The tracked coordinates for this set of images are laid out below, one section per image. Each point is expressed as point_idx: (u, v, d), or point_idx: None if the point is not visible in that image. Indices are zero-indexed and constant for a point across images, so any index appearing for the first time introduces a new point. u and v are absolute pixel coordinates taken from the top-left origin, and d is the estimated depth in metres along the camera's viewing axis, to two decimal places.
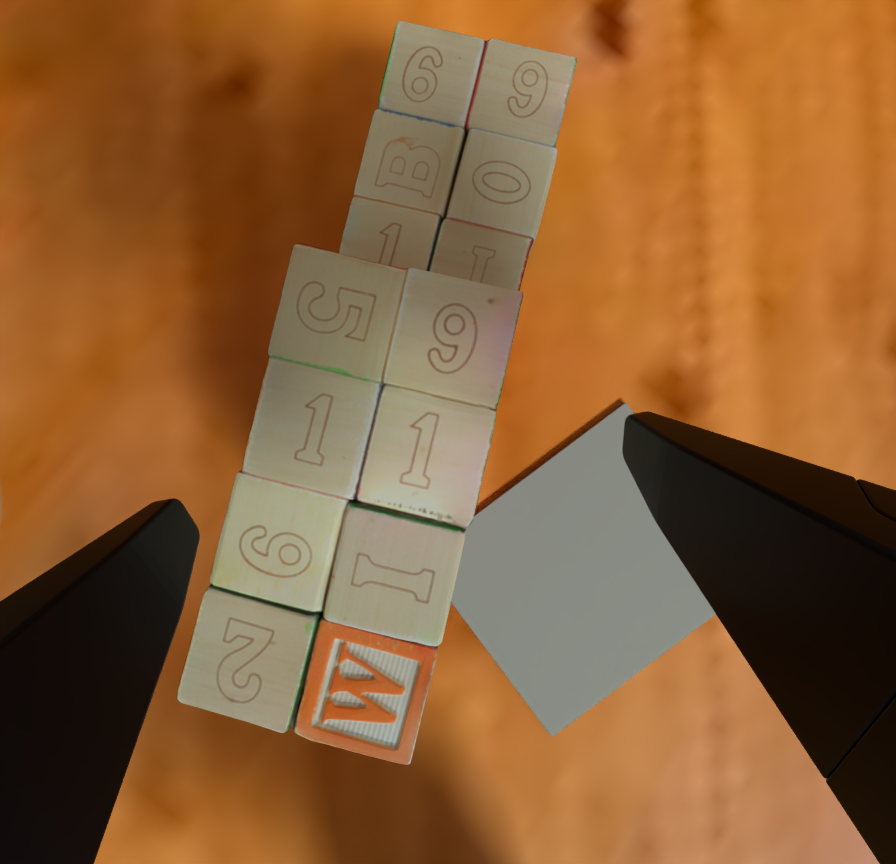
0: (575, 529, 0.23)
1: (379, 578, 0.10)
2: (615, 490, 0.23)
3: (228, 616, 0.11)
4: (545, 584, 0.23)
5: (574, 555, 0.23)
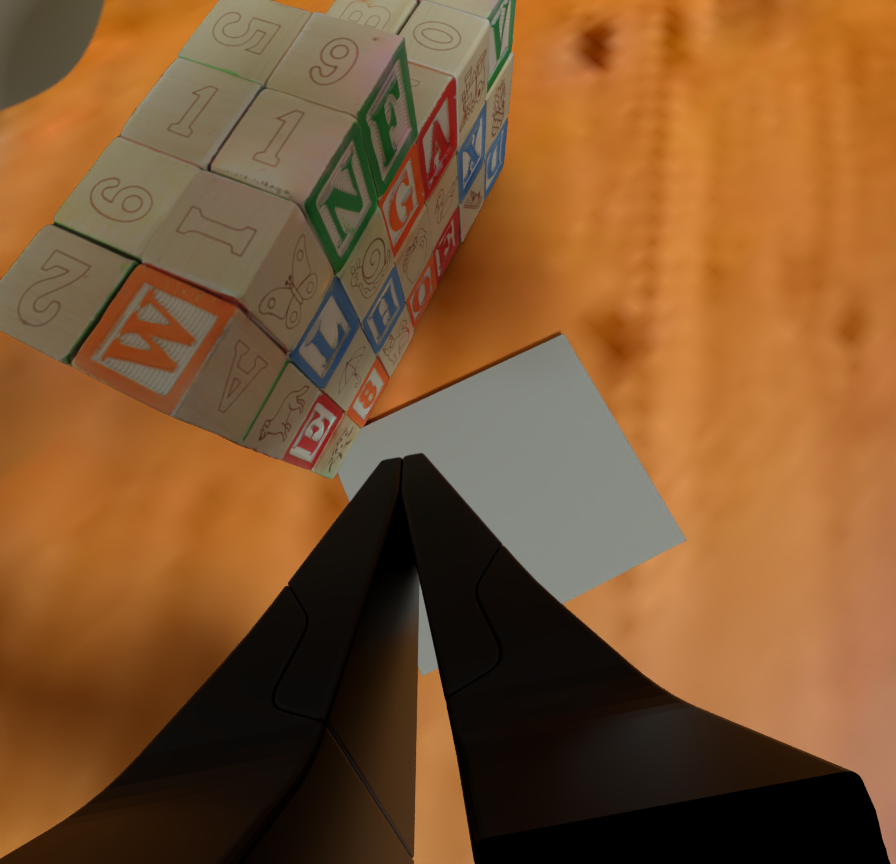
0: (492, 446, 0.21)
1: (203, 229, 0.10)
2: (540, 414, 0.22)
3: (55, 248, 0.11)
4: None
5: (486, 472, 0.21)
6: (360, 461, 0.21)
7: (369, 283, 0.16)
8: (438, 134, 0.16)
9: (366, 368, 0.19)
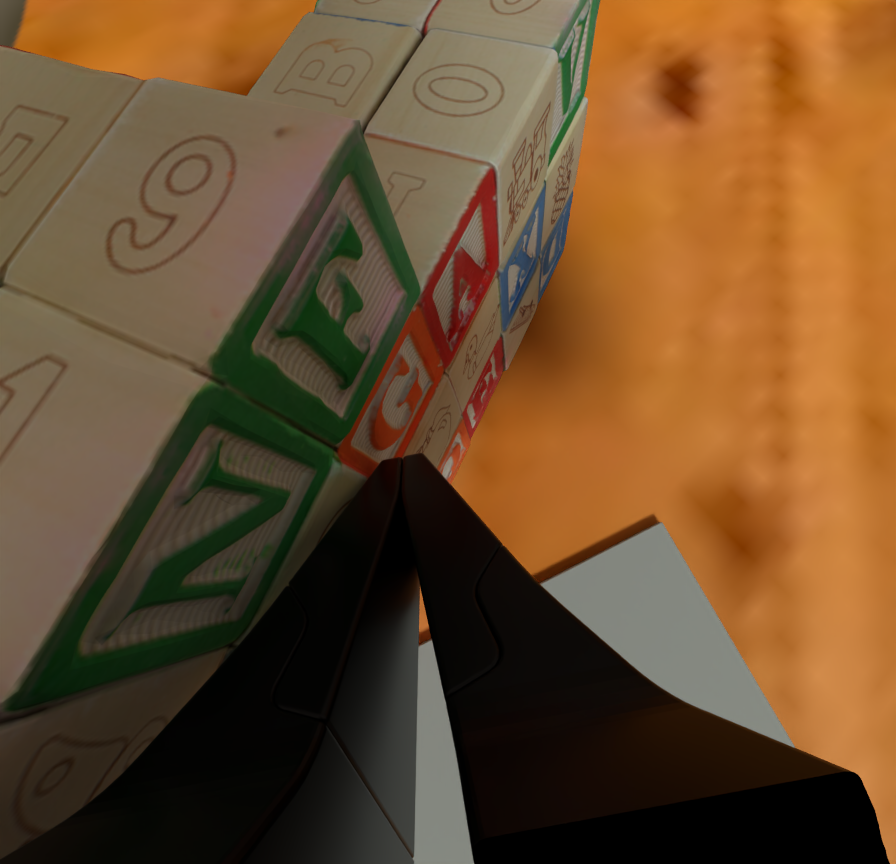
0: None
1: None
2: (633, 657, 0.14)
3: None
4: None
5: None
6: None
7: None
8: (465, 267, 0.08)
9: None
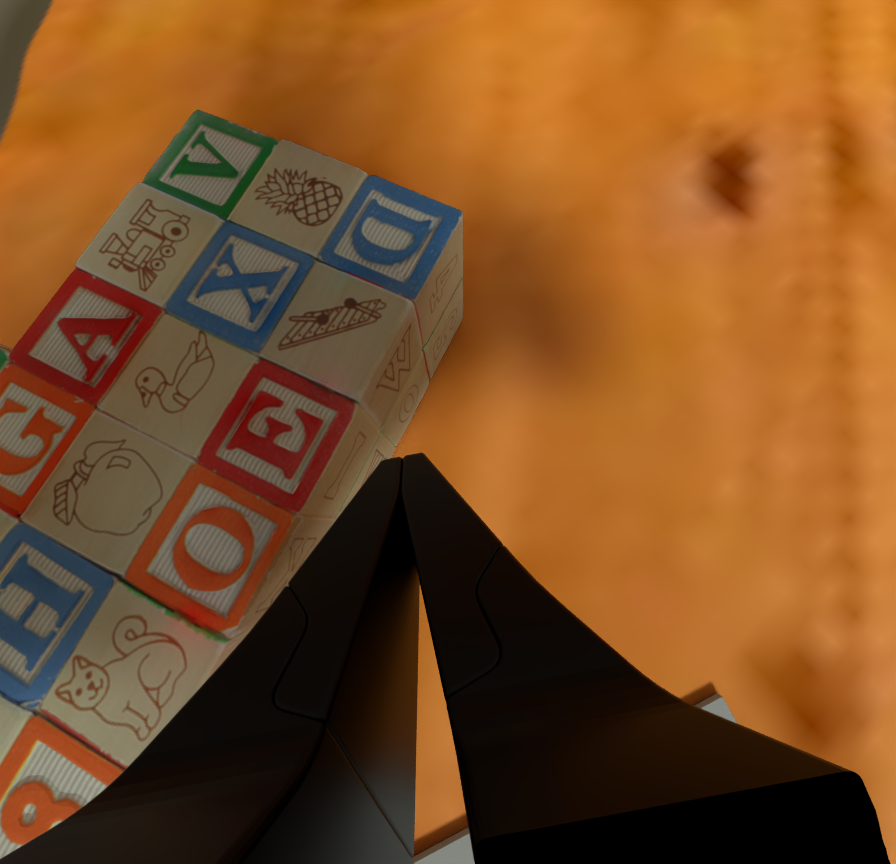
0: None
1: None
2: None
3: None
4: None
5: None
6: None
7: None
8: (75, 326, 0.11)
9: None
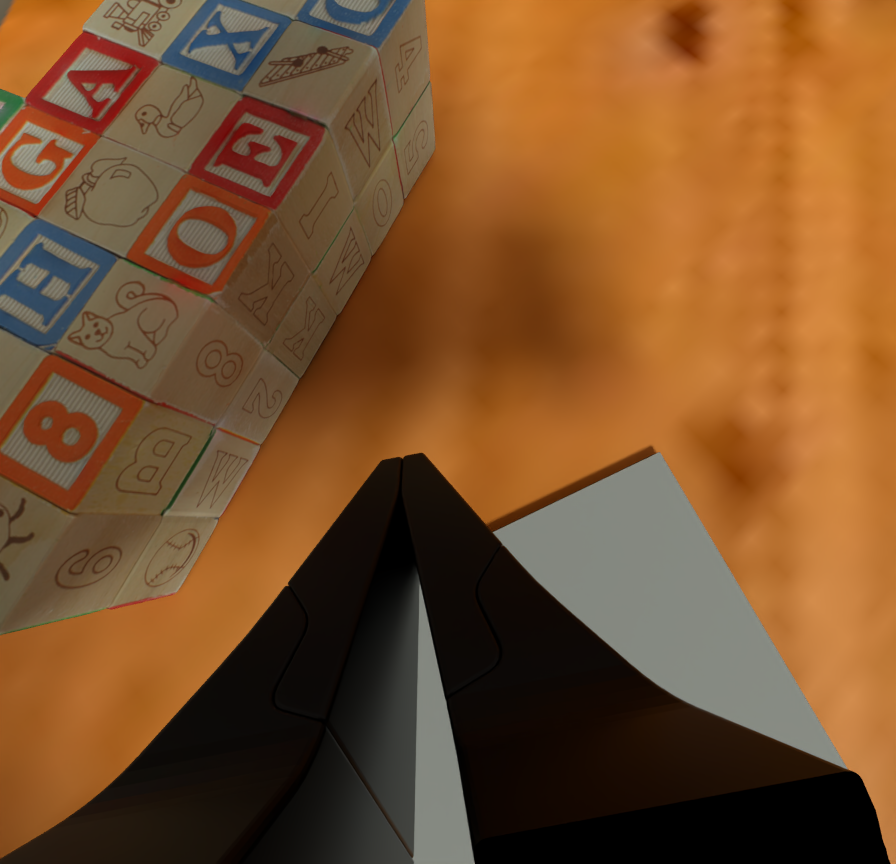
0: None
1: None
2: (628, 581, 0.14)
3: None
4: None
5: None
6: None
7: None
8: (82, 75, 0.13)
9: (9, 372, 0.10)
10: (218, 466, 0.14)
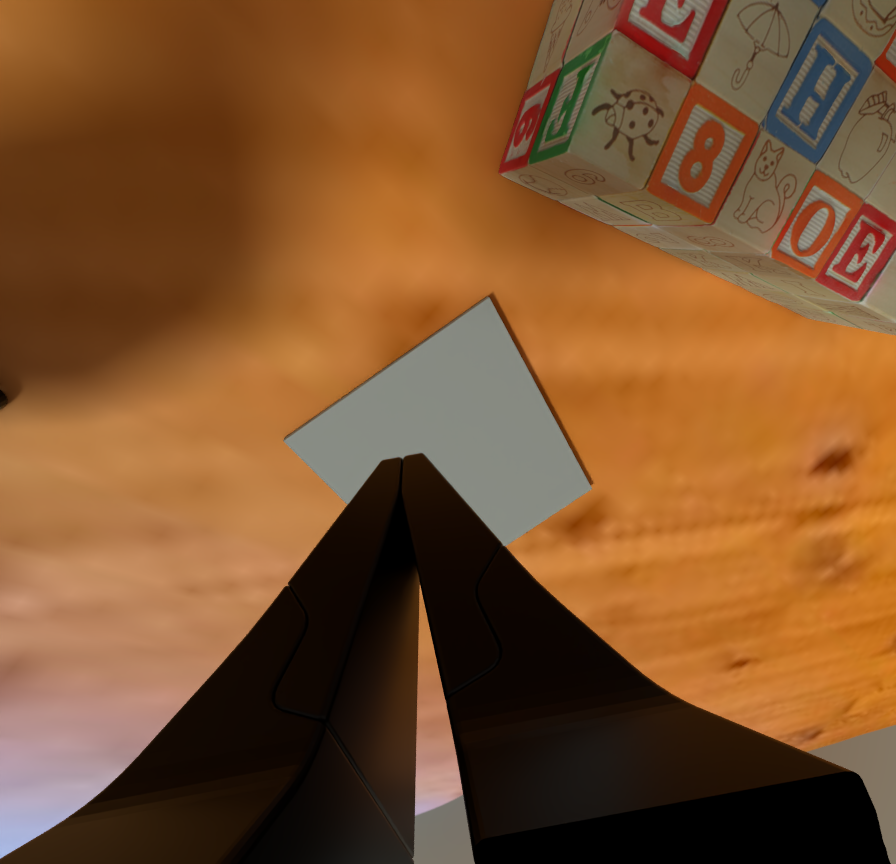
0: (495, 454, 0.24)
1: None
2: (524, 485, 0.25)
3: None
4: (447, 430, 0.22)
5: (473, 455, 0.23)
6: (474, 339, 0.20)
7: None
8: None
9: (753, 93, 0.13)
10: (614, 215, 0.18)
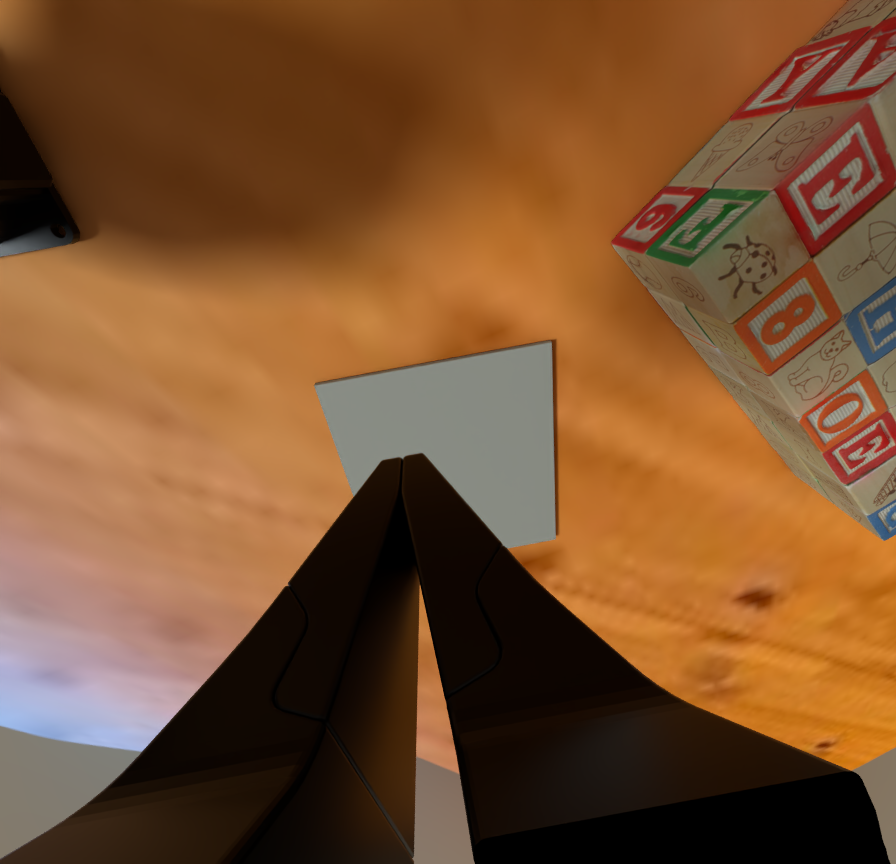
0: (490, 476, 0.25)
1: None
2: (501, 512, 0.26)
3: None
4: (460, 438, 0.23)
5: (471, 468, 0.24)
6: (521, 371, 0.22)
7: None
8: None
9: (850, 289, 0.15)
10: (688, 324, 0.19)
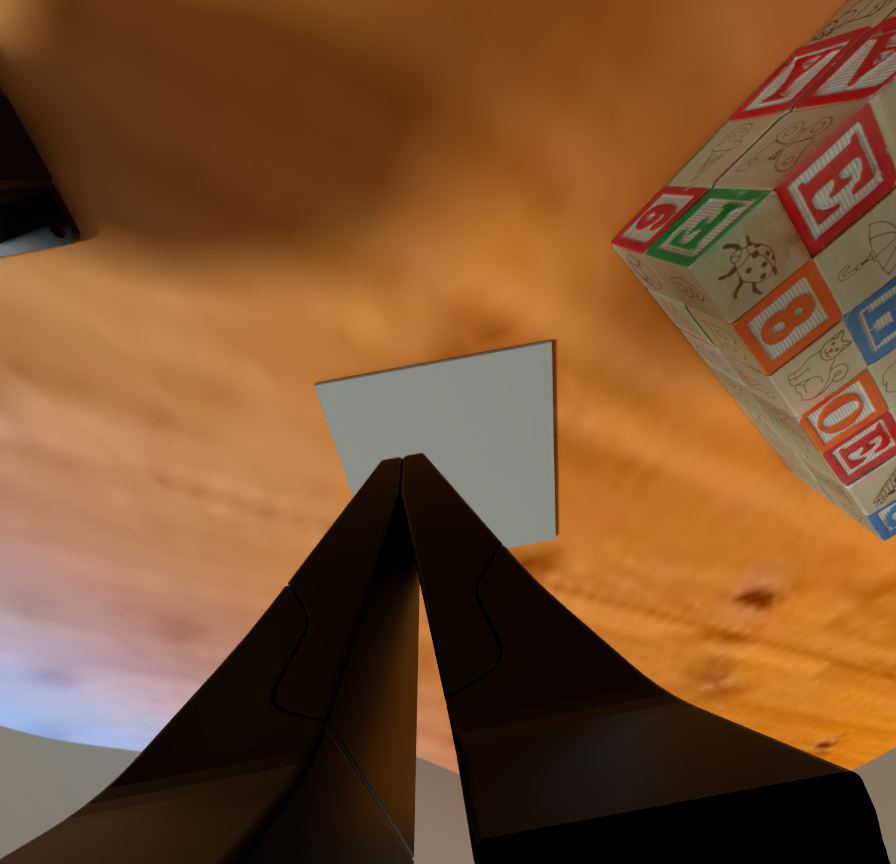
0: (490, 476, 0.25)
1: None
2: (501, 512, 0.26)
3: None
4: (460, 438, 0.23)
5: (471, 468, 0.24)
6: (521, 371, 0.22)
7: None
8: None
9: (850, 289, 0.15)
10: (688, 324, 0.19)
